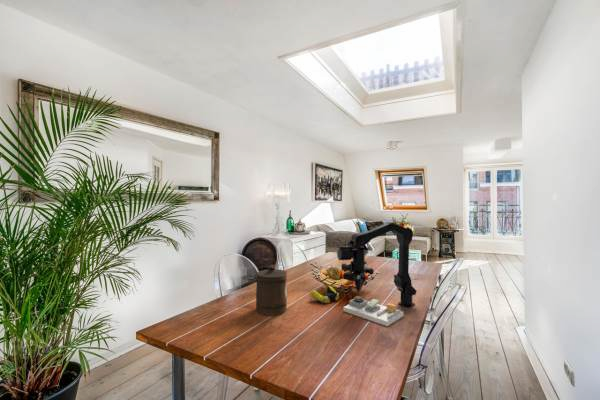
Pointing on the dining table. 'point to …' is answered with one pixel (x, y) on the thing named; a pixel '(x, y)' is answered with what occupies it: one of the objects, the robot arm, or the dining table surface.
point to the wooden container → (271, 291)
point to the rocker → (372, 303)
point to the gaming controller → (328, 297)
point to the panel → (373, 312)
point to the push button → (358, 299)
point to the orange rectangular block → (391, 308)
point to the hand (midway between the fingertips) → (358, 291)
